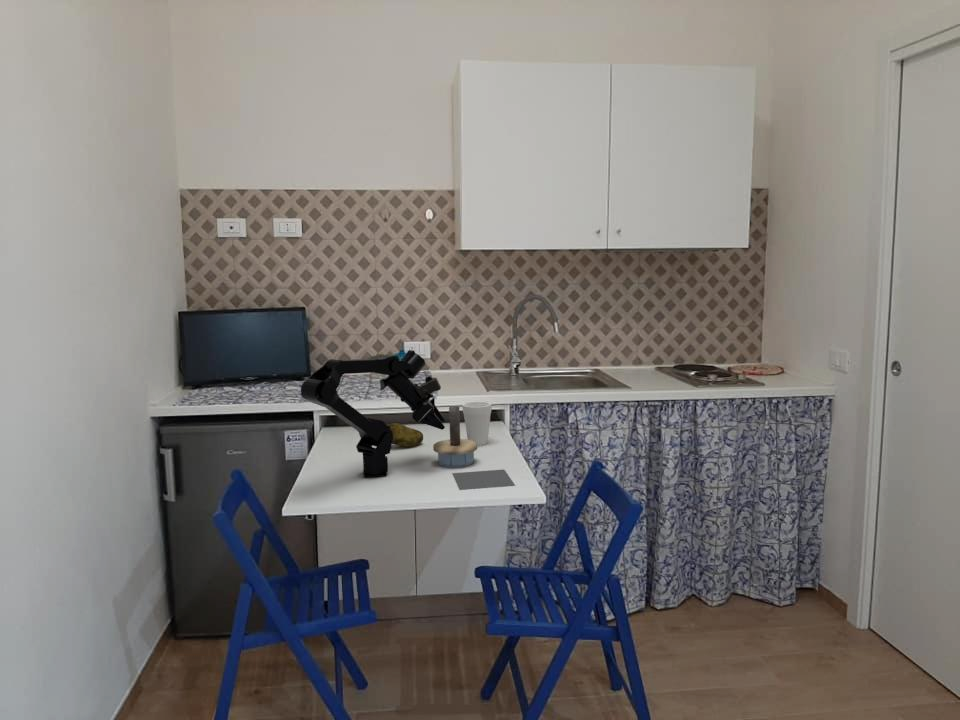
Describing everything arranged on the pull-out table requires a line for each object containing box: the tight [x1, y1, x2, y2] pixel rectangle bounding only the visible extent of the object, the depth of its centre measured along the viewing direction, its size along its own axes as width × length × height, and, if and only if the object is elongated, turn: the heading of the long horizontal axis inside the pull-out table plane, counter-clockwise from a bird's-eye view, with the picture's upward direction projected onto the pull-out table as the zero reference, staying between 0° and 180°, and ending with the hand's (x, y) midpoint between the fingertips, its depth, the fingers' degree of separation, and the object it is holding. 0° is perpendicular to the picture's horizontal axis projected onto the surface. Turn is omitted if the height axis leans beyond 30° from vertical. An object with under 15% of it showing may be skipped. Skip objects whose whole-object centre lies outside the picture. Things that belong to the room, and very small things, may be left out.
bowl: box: [437, 451, 475, 468], centre depth 218 cm, size 10×10×4 cm
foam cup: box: [462, 400, 492, 447], centre depth 239 cm, size 10×9×13 cm
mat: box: [451, 469, 516, 491], centre depth 201 cm, size 15×15×1 cm
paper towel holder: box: [432, 405, 478, 455], centre depth 216 cm, size 13×13×12 cm
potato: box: [386, 422, 424, 448], centre depth 238 cm, size 8×13×8 cm, turn 98°
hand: (443, 424), depth 216 cm, fingers open, 9 cm apart
